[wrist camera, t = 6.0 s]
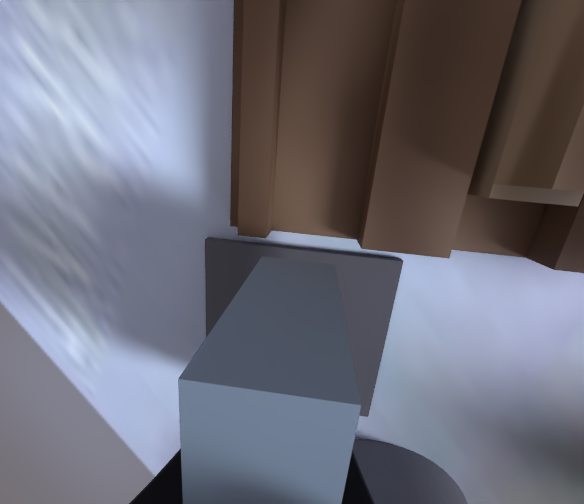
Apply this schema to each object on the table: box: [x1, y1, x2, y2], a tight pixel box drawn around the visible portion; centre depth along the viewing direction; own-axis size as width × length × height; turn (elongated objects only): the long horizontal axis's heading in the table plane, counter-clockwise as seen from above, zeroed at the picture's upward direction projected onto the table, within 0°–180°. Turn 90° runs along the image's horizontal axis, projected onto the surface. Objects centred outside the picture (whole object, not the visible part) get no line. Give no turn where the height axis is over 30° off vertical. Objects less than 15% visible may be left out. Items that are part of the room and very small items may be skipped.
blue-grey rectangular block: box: [178, 257, 361, 504], centre depth 9 cm, size 3×10×7 cm, turn 175°
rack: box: [230, 0, 584, 273], centre depth 10 cm, size 15×14×2 cm
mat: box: [205, 238, 403, 417], centre depth 15 cm, size 10×10×1 cm
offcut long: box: [467, 0, 584, 206], centre depth 9 cm, size 3×9×2 cm, turn 175°
